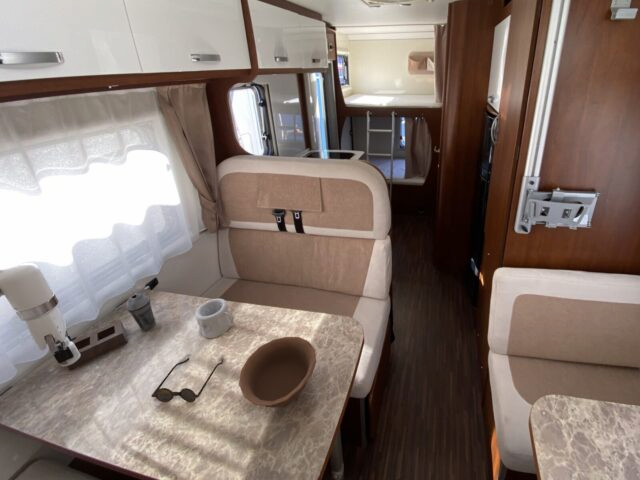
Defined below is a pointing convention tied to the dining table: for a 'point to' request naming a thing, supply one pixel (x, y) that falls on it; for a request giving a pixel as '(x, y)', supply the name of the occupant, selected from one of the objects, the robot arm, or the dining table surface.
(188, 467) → the dining table surface
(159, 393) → the eyeglasses
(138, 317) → the beverage cup
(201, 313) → the mug
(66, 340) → the pill bottle
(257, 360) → the bowl
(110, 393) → the dining table surface
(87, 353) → the holder
